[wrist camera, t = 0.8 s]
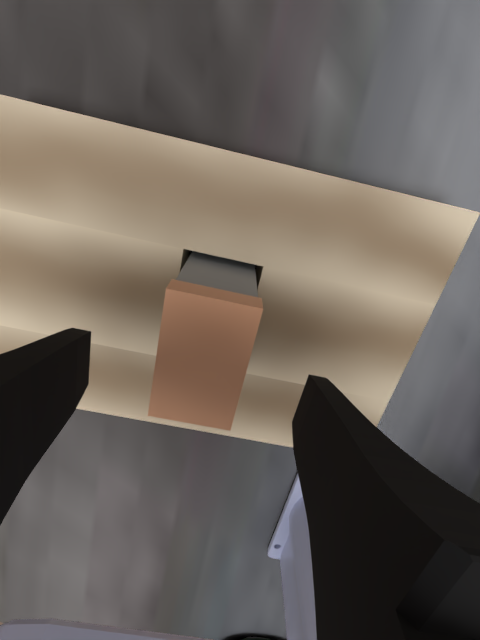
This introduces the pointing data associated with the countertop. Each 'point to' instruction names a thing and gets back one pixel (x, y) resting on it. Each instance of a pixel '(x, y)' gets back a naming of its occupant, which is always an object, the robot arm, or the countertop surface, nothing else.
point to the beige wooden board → (219, 240)
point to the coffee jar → (255, 638)
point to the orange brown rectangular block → (205, 341)
